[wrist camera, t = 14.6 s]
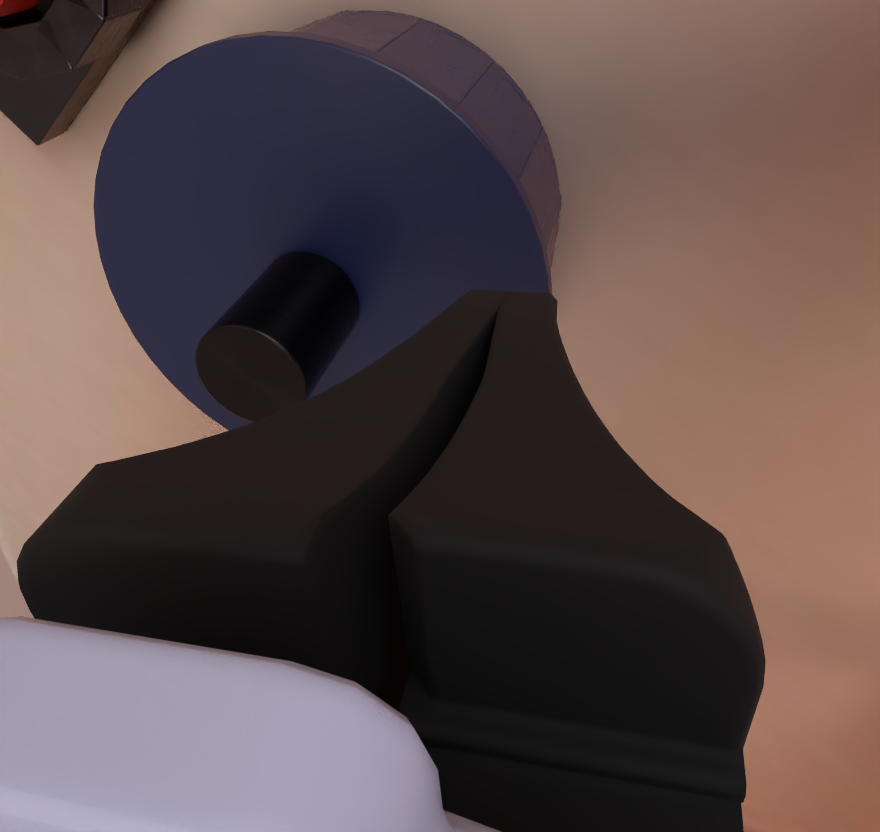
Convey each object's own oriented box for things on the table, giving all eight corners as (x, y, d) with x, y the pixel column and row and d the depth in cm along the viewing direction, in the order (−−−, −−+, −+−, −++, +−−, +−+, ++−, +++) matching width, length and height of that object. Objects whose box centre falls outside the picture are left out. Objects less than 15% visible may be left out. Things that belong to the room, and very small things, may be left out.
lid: (308, -117, 13) (182, -101, 10) (653, 331, 17) (648, 455, 14) (45, 228, 20) (-88, 312, 16) (340, 502, 23) (282, 617, 20)
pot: (389, -90, 18) (301, -67, 13) (633, 239, 21) (622, 339, 17) (166, 170, 23) (56, 243, 19) (386, 396, 27) (333, 499, 22)
